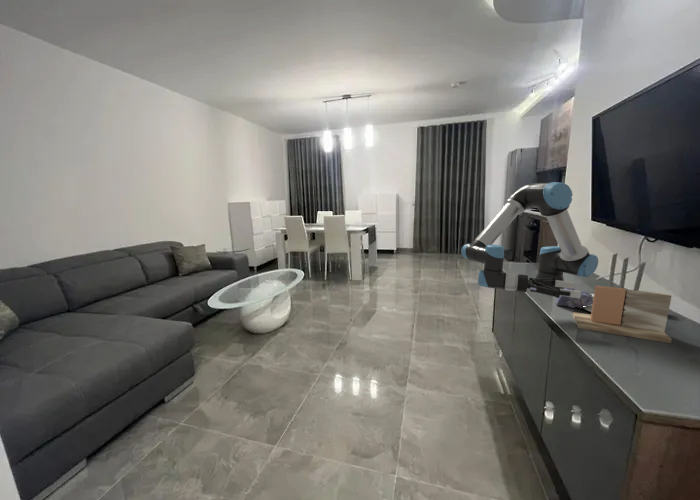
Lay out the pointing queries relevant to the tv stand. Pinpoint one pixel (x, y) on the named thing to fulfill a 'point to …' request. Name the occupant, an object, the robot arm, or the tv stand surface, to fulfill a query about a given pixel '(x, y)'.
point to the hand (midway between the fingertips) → (577, 289)
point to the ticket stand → (635, 317)
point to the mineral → (575, 300)
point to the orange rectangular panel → (608, 304)
